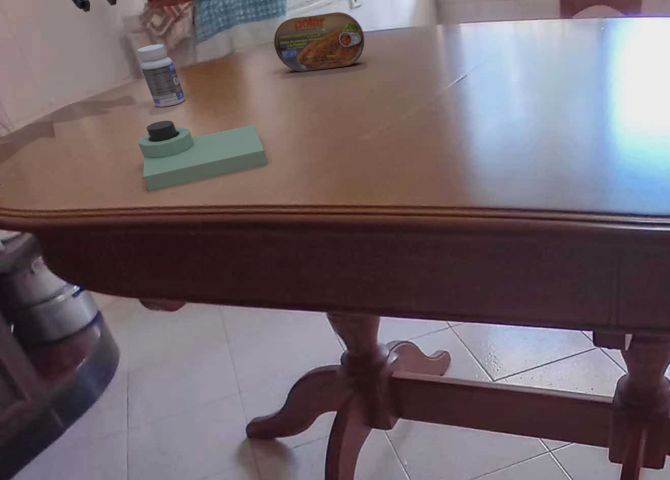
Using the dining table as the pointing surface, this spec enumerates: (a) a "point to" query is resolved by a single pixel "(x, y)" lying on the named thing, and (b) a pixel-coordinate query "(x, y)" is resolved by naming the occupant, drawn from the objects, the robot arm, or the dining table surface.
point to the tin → (319, 41)
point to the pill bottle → (160, 76)
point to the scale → (199, 156)
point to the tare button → (161, 131)
